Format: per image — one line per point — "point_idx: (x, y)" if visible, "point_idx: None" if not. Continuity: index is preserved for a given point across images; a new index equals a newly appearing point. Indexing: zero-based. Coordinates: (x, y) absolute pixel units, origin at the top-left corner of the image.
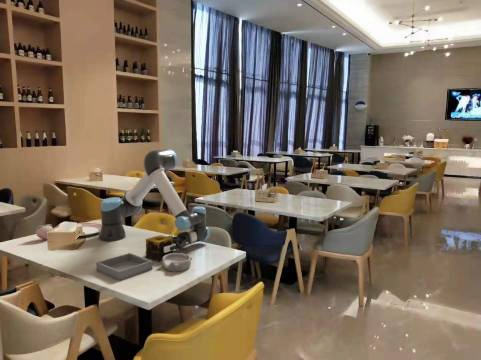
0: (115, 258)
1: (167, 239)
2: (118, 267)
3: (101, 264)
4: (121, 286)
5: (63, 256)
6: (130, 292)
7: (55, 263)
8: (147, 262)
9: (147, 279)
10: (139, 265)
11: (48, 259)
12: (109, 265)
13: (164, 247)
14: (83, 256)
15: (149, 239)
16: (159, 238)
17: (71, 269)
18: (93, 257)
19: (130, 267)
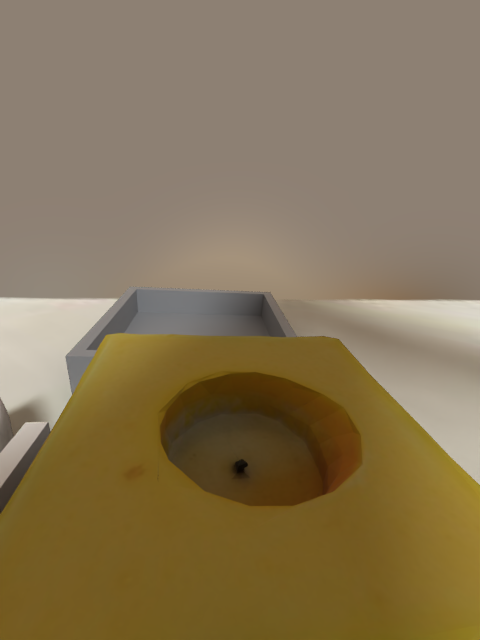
0: (276, 321)
1: (36, 469)
2: (224, 335)
3: (239, 291)
4: (92, 307)
5: (471, 326)
6: (36, 303)
7: (398, 307)
8: (83, 340)
9: (28, 346)
10: (100, 319)
11: (445, 310)
12: (268, 330)
13: (31, 422)
14: (458, 345)
15: (291, 342)
16: (333, 486)
17: (324, 306)
18: (433, 354)
19: (121, 303)
